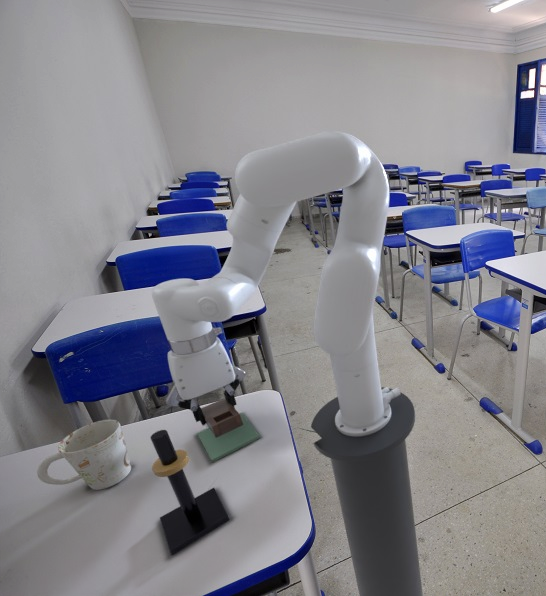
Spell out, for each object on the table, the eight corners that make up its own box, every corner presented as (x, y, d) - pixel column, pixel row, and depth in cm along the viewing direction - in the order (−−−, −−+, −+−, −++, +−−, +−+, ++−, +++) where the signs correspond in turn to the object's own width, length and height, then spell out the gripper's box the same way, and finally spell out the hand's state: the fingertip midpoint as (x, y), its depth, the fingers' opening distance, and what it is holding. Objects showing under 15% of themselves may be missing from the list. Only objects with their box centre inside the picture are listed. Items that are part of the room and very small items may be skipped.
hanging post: (215, 491, 67) (184, 409, 60) (229, 519, 61) (197, 433, 55) (161, 521, 61) (120, 435, 55) (171, 555, 56) (127, 464, 49)
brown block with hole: (243, 424, 75) (239, 414, 75) (216, 438, 72) (211, 426, 71) (228, 408, 84) (224, 398, 83) (202, 419, 81) (199, 408, 80)
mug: (137, 480, 70) (116, 438, 66) (44, 517, 63) (15, 472, 59) (140, 453, 76) (122, 413, 72) (56, 483, 70) (31, 442, 66)
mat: (242, 414, 86) (241, 412, 86) (260, 437, 79) (259, 435, 78) (197, 435, 80) (197, 433, 80) (212, 462, 73) (211, 460, 73)
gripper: (233, 321, 82) (252, 390, 89) (136, 350, 71) (167, 427, 78) (245, 332, 77) (264, 404, 84) (142, 365, 66) (174, 445, 73)
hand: (217, 414), depth 81 cm, fingers closed on brown block with hole, 5 cm apart
